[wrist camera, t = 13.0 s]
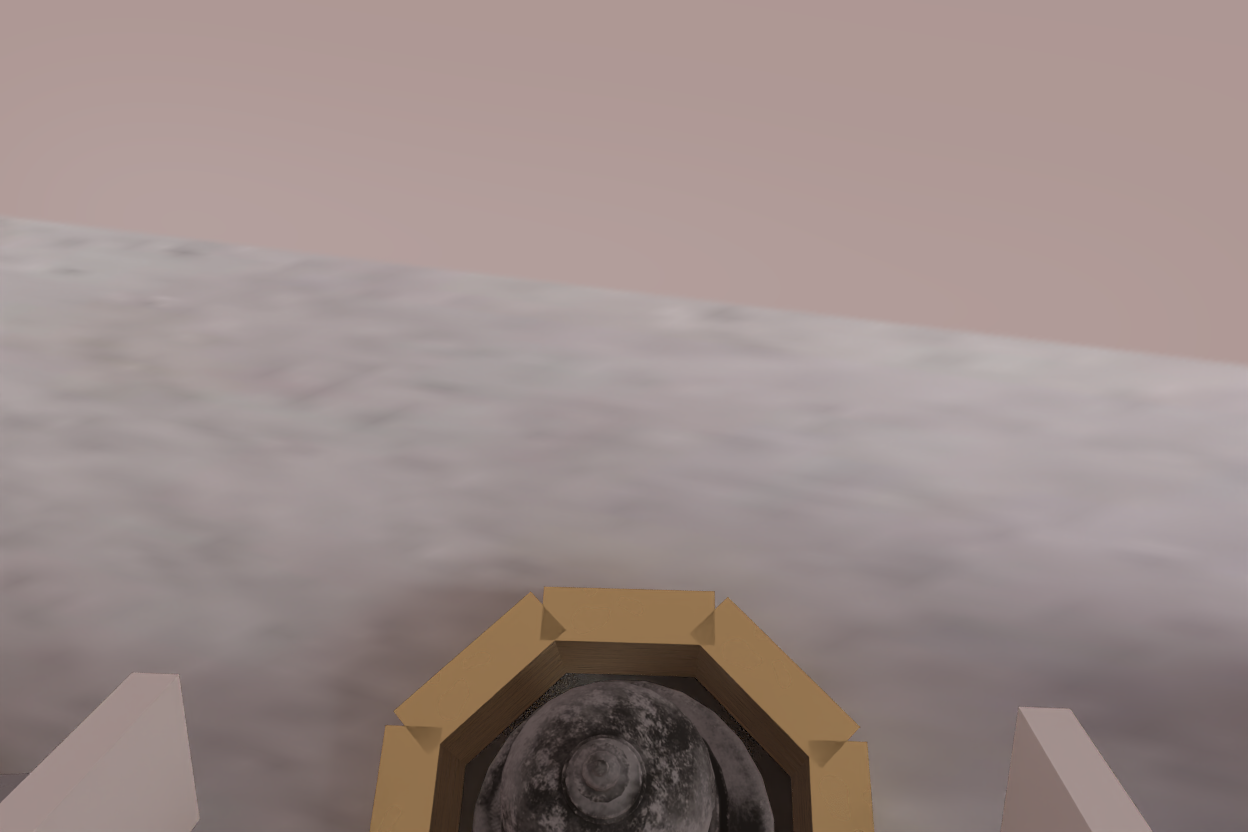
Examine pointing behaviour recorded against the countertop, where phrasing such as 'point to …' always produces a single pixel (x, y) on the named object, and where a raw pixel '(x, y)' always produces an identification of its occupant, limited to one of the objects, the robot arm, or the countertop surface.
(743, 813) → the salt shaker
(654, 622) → the brass collar
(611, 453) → the countertop surface
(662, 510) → the countertop surface
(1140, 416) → the countertop surface
